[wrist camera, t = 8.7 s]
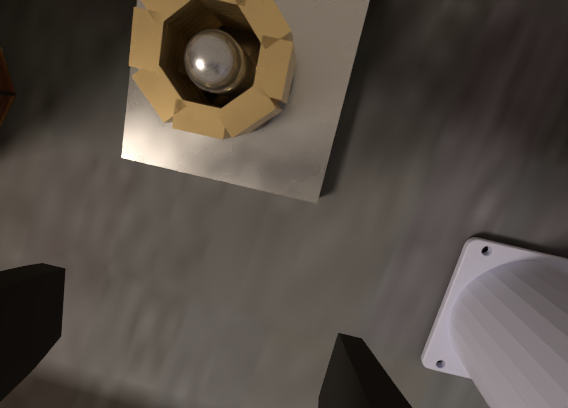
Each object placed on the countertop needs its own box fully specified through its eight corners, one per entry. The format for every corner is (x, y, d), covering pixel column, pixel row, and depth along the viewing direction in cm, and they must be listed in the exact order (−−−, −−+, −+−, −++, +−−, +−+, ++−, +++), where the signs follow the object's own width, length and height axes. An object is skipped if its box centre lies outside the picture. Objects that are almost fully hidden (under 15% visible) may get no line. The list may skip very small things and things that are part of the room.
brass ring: (305, 15, 14) (305, -18, 10) (279, 143, 15) (271, 150, 12) (180, -12, 14) (139, -55, 10) (164, 117, 15) (123, 117, 12)
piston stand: (370, -12, 15) (412, -95, 9) (316, 198, 18) (321, 239, 12) (154, -62, 15) (58, -175, 9) (131, 155, 18) (44, 174, 12)
